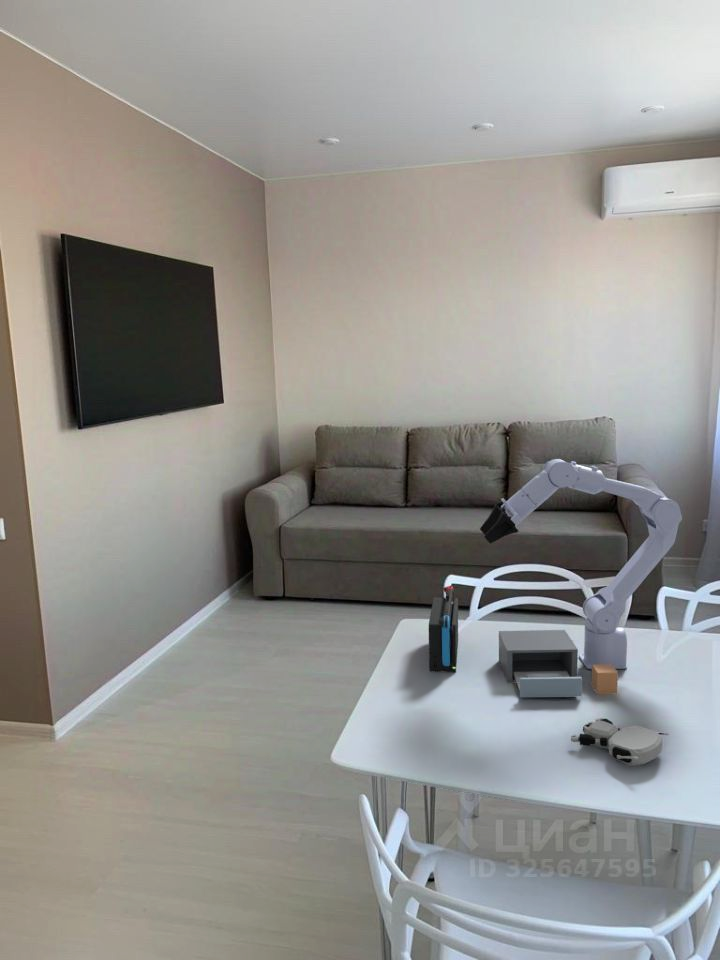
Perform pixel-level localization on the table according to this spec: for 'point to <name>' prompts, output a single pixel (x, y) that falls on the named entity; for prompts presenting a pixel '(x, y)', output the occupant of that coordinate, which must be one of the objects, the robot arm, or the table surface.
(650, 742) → the robot toy
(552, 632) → the gray drawer box
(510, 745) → the table surface
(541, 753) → the table surface
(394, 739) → the table surface
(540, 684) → the blue-grey sliding drawer
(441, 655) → the game console
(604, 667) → the block
